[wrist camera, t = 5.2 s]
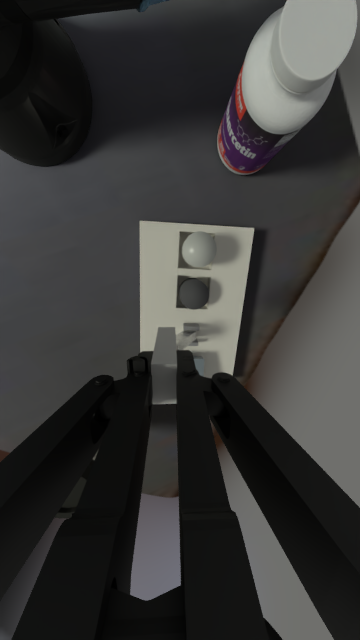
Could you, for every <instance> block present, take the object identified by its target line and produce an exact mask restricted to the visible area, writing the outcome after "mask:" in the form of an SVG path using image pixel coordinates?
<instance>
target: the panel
mask: <svg viewBox="0 0 360 640" xmlns="http://www.w3.org/2000/svg"><path fill="white" fill-rule="evenodd" d="M198 231H202V232H206V233H208V234H210V235H211V236H212V237H213V239H214V240H215V243H216V247H217V251H216V255H215V258H214V259H213V261H212V262H211V263H210V264H208V265H207V266H204V267H195V266H191V265H189V264H187V263H186V262H185V261H184V259H183V257H182V246H183V243H184V242H185V240H186V239H187V237H188V236H189V235H191V234H192V233H194V232H198ZM253 235H254V228H244V227H229V226H213V225H198V224H182V223H167V222H152V221H140V353H141V352H142V351H154V347H155V342H156V337H157V332H158V327H175V332H176V335H177V334H178V333H180V332H182V331H183V330H192V331H196V339H195V340H194V341H193V342H192V343H191V344H189V345H188V346H187V347H186V348H184V349H183V350H190V351H191V352H192V353H193V356H202V357H203V358H204V376H203V377H207V378H212V375H214V374H215V373H218V372H224V373H228V374H231V375H232V376H233V370H234V363H235V357H236V350H237V343H238V336H239V330H240V323H241V316H242V309H243V302H244V296H245V289H246V282H247V275H248V269H249V262H250V255H251V248H252V241H253ZM188 278H197V279H199V280H200V281H202V282H203V283H204V284H205V285H206V286H207V287H208V290H209V300H208V302H207V303H206V305H205V306H203V307H202V308H200V309H196V310H193V309H189V308H187V307H185V306H184V305H183V304H182V302H181V299H180V295H179V287H180V285H181V283H182V282H183V281H184V280H186V279H188Z"/></svg>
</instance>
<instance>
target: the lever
mask: <svg viewBox="0 0 360 640" xmlns="http://www.w3.org/2000/svg"><path fill="white" fill-rule="evenodd" d="M195 339H196V331H192V330H183V331H182V332H180V333H178V334H177V335H176V350H183V349H184V348H186V347H187V346H188V345H189V344H191V343H192V342H193V341H194V340H195Z"/></svg>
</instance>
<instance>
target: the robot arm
mask: <svg viewBox="0 0 360 640" xmlns="http://www.w3.org/2000/svg"><path fill="white" fill-rule="evenodd" d="M164 1H169V0H0V149H1V150H3V151H4V152H6V153H7V154H9V155H10V156H12V157H13V158H15V159H17V160H19V161H21V162H24V163H27V164H30V165H35V166H52V165H56V164H59V163H62V162H64V161H66V160H67V159H69V158H70V157H72V156H73V155H74V154H75V153H76V152H77V151H78V149H79V148H80V147H81V145H82V144H83V142H84V140H85V138H86V136H87V133H88V130H89V127H90V123H91V116H92V98H91V90H90V85H89V81H88V78H87V75H86V72H85V69H84V67H83V64H82V62H81V60H80V58H79V56H78V53H77V51H76V49H75V47H74V45H73V43H72V41H71V39H70V38H69V36H68V34H67V33H66V31H65V30H64V28H63V27H62V25H61V24H60V23H59V21H58V20H57V19H58V18H65V17H71V16H78V15H85V14H92V13H101V12H110V11H119V10H128V9H136V10H138V11H139V12H143V11H145V10H146V9H147V7H148V6H150V5H153V4H157V3H160V2H164ZM127 369H128V375H127V377H126V378H124V379H121V380H117V381H114V380H113V377H112V376H109V375H100V376H97V377H94V378H93V379H91V380H90V381H89V382H88V383H87V384H86V385H84V386H83V387H82V388H81V389H80V390H79V391H78V392H77V393H76V394H75V395H73V396H72V397H71V398H70V399H69V400H68V401H67V402H66V403H65V404H64V405H63V406H61V407H60V408H59V409H58V410H57V411H56V412H55V413H54V414H53V415H52V416H50V417H49V418H48V419H47V420H46V421H45V422H44V423H43V424H42V425H41V426H39V427H38V428H37V429H36V430H35V431H34V432H33V433H32V434H31V435H30V436H29V437H27V438H26V439H25V440H24V441H23V442H22V443H21V444H20V445H19V446H18V447H16V448H15V449H14V450H13V451H12V452H11V453H10V454H9V455H8V456H7V457H6V458H4V459H3V460H2V461H1V462H0V600H1V599H2V597H3V595H4V594H5V593H6V591H7V589H8V588H9V587H10V585H11V584H12V582H13V580H14V579H15V577H16V576H17V574H18V573H19V571H20V570H21V568H22V566H23V565H24V564H25V562H26V560H27V559H28V557H29V556H30V554H31V553H32V551H33V549H34V548H35V546H36V545H37V543H38V542H39V540H40V539H41V537H42V536H43V534H44V533H45V531H46V530H47V528H48V527H49V525H50V523H51V522H52V520H53V519H54V517H55V516H56V514H57V513H58V511H59V510H60V508H61V507H62V505H63V504H64V502H65V500H66V499H67V497H68V496H69V494H70V493H71V491H72V490H73V488H74V487H75V485H76V484H77V482H78V480H79V479H80V477H81V476H82V474H83V473H84V471H85V470H86V468H87V467H88V465H89V464H90V462H91V460H92V459H93V457H94V456H95V454H96V453H97V451H98V453H97V455H96V458H95V460H94V463H93V466H92V468H91V471H90V473H89V476H88V479H87V481H86V484H85V486H84V489H83V492H82V494H81V497H80V499H79V502H78V505H77V507H76V510H75V512H74V514H73V516H72V517H71V518H69V519H66V520H65V521H64V522H63V523H62V525H61V526H60V528H59V530H58V532H57V534H56V536H55V538H54V541H53V542H52V545H51V547H50V550H49V552H48V554H47V557H46V559H45V562H44V564H43V566H42V569H41V571H40V574H39V576H38V578H37V580H36V583H35V585H34V588H33V590H32V592H31V595H30V597H29V599H28V602H27V604H26V607H25V609H24V611H23V614H22V616H21V618H20V621H19V623H18V625H17V628H16V631H15V633H14V635H13V637H12V640H282V638H281V637H280V636H279V634H278V633H277V632H276V631H275V630H274V628H272V626H271V625H270V624H269V623H268V622H267V620H266V619H265V618H263V615H262V611H261V607H260V603H259V599H258V595H257V591H256V587H255V583H254V579H253V575H252V571H251V567H250V563H249V559H248V555H247V552H246V547H245V543H244V540H243V536H242V532H241V528H240V525H239V521H238V518H237V516H236V513H235V512H234V511H232V510H231V508H230V505H229V501H228V496H227V493H226V488H225V484H224V479H223V475H222V471H221V466H220V462H219V458H218V454H217V449H216V445H215V441H214V436H213V432H212V427H211V423H210V419H211V421H212V423H213V425H214V427H215V428H216V430H217V432H218V434H219V435H220V437H221V439H222V441H223V443H224V444H225V446H226V448H227V450H228V452H229V453H230V455H231V457H232V459H233V461H234V462H235V464H236V466H237V468H238V470H239V471H240V473H241V475H242V477H243V479H244V480H245V482H246V484H247V486H248V488H249V489H250V491H251V493H252V495H253V496H254V498H255V500H256V502H257V503H258V505H259V507H260V509H261V511H262V513H263V514H264V516H265V518H266V520H267V522H268V523H269V525H270V527H271V529H272V531H273V532H274V534H275V536H276V538H277V540H278V541H279V543H280V545H281V547H282V549H283V550H284V552H285V554H286V556H287V558H288V559H289V561H290V563H291V565H292V566H293V568H294V570H295V572H296V574H297V575H298V577H299V579H300V581H301V583H302V584H303V586H304V588H305V590H306V592H307V593H308V595H309V597H310V599H311V601H312V602H313V604H314V606H315V608H316V609H317V611H318V613H319V615H320V617H321V618H322V620H323V622H324V623H325V625H326V627H327V628H328V630H329V632H330V633H331V635H332V637H333V638H334V640H360V508H359V506H358V505H356V504H355V502H354V501H352V499H351V498H350V497H349V496H348V495H347V494H346V493H345V492H344V491H343V490H342V489H341V488H340V487H339V486H338V485H337V484H336V483H335V482H334V481H333V479H332V478H331V477H330V476H329V475H328V474H327V473H326V472H325V471H324V470H323V469H322V468H321V467H320V466H319V465H318V464H317V463H316V462H315V461H314V460H313V459H312V458H311V457H310V455H309V454H307V452H306V451H305V450H304V449H303V448H302V447H301V446H300V445H299V444H298V443H297V442H296V441H295V440H294V439H293V438H292V437H291V436H290V435H289V434H288V433H287V432H286V431H285V429H284V428H283V427H282V426H281V425H280V424H279V423H278V422H277V421H276V420H275V419H274V418H273V417H272V416H271V415H270V414H269V413H268V412H267V411H266V410H265V409H264V408H263V407H262V406H261V405H260V404H259V402H258V401H257V400H256V399H255V398H254V397H253V396H252V395H251V394H250V393H249V392H248V391H247V390H246V389H245V388H244V387H243V386H242V385H241V384H240V383H239V382H238V381H237V380H236V378H235V377H233V376H232V375H231V374H228V373H224V372H218V373H215V374H214V375H212V378H207V377H203V376H201V375H199V372H198V370H196V367H195V362H194V358H193V353H192V352H191V351H190V350H176V332H175V327H158V332H157V337H156V342H155V347H154V351H142V352H141V353H139V354H138V356H134V357H131V358H130V359H128V360H127ZM152 403H153V404H177V447H178V485H179V522H180V523H179V524H180V562H181V586H178V587H177V588H174V589H172V590H170V591H168V592H166V593H164V594H162V595H160V596H158V597H156V598H154V599H152V600H148V601H145V600H141V599H139V598H136V597H134V596H131V595H130V585H131V584H130V583H131V570H132V562H133V554H134V545H135V538H136V531H137V523H138V515H139V508H140V499H141V492H142V484H143V477H144V469H145V461H146V453H147V446H148V438H149V430H150V423H151V415H152ZM209 416H210V419H209Z"/></svg>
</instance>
